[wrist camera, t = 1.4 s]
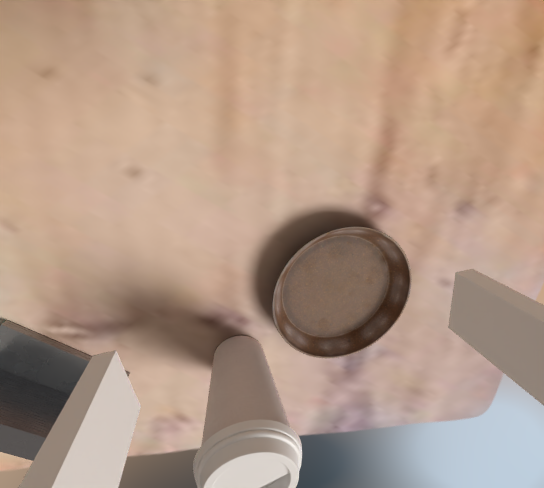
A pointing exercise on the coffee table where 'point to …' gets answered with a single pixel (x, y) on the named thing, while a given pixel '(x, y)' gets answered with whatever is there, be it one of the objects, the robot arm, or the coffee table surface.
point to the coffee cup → (245, 424)
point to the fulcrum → (33, 386)
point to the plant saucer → (341, 292)
